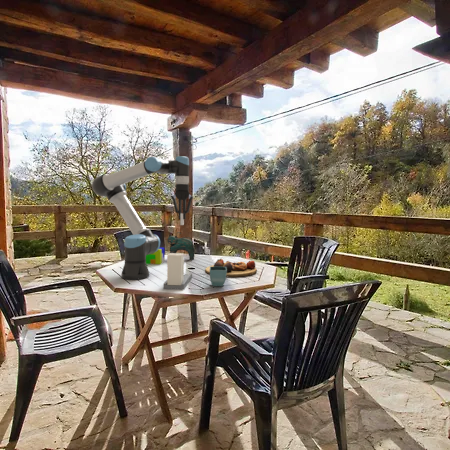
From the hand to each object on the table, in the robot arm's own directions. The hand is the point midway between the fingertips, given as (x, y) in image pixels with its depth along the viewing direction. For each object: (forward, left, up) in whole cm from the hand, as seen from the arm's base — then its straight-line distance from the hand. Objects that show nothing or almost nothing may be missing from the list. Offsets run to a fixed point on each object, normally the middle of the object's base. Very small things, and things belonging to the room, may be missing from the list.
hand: (182, 224), depth 184 cm
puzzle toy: (-25, +32, -30) cm, 50 cm away
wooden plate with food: (+28, +13, -30) cm, 43 cm away
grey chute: (+2, -18, -29) cm, 35 cm away
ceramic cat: (-10, +48, -30) cm, 57 cm away
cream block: (+2, -26, -28) cm, 38 cm away
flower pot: (+23, -20, -30) cm, 42 cm away
